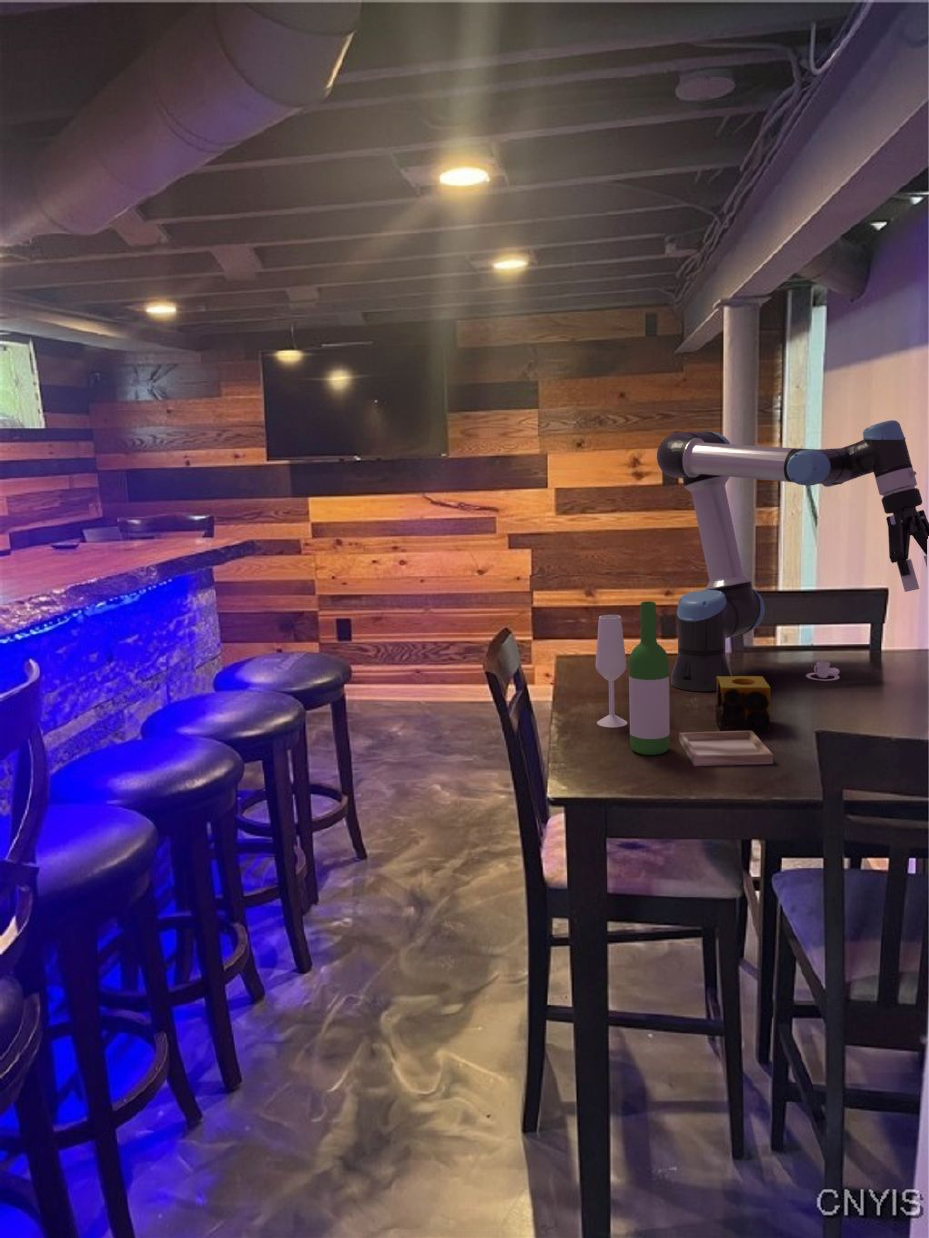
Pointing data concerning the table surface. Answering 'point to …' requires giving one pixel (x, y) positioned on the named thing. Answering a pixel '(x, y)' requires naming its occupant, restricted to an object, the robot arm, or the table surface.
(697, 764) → the slot frame
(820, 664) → the teacup and saucer
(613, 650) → the champagne flute
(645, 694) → the wine bottle
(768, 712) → the candle
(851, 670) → the table surface
